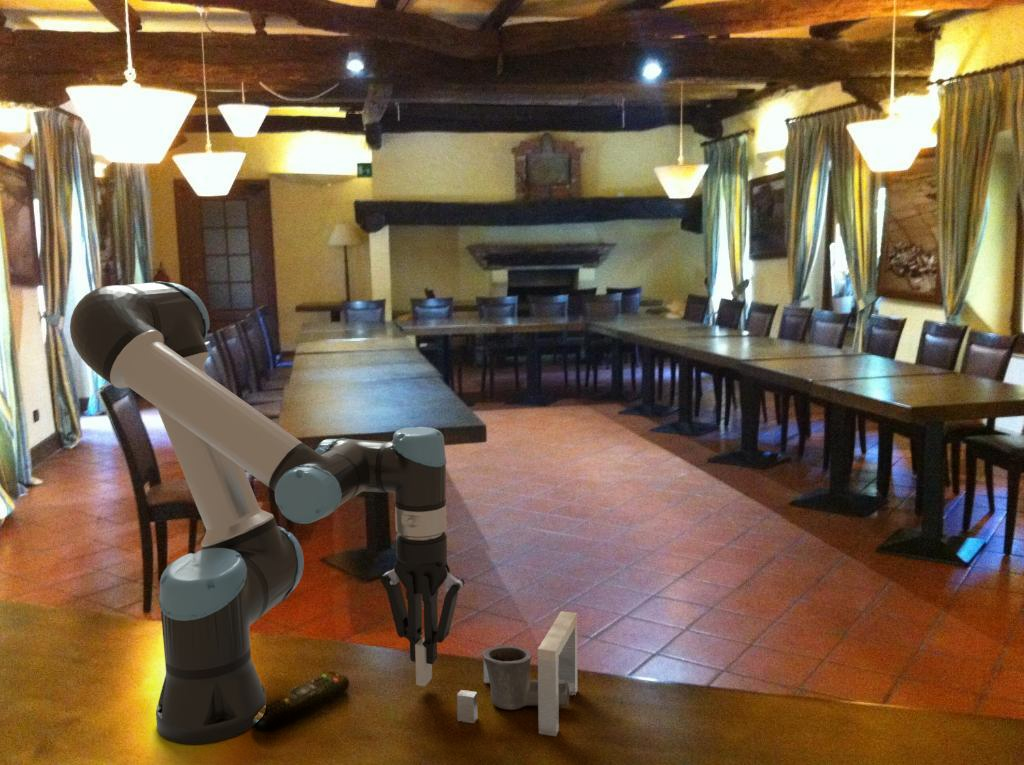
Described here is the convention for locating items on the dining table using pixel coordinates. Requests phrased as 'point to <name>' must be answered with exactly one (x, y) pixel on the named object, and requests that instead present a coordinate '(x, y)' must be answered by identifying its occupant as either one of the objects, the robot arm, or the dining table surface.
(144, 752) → the dining table surface
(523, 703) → the pipe
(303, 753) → the dining table surface
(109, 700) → the dining table surface
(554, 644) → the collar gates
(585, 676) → the dining table surface
